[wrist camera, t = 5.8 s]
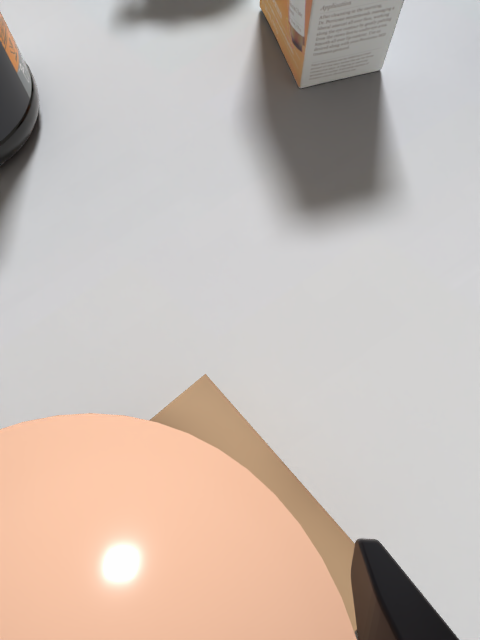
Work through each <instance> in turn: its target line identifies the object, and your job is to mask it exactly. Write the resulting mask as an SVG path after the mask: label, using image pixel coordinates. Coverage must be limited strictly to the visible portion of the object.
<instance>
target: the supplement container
mask: <svg viewBox="0 0 480 640" xmlns="http://www.w3.org/2000/svg"><path fill="white" fill-rule="evenodd" d="M38 110H39V95H38V89H37V85H36V82H35V79H34V77H33V75H32V73H31V71H30V69H29V67H28V65H27V64H26V62H25V61H24V60H23V57H22V55H21V53H20V51H19V49H18V47H17V45H16V43H15V41H14V39H13V37H12V35H11V33H10V31H9V28H8V26H7V24H6V22H5V20H4V18H3V16H2V14H1V12H0V165H2V164H3V163H5V162H6V161H7V160H8V159H10V158H11V157H12V156H13V155H14V154H15V153H16V152H17V151H18V150H19V149H20V148H21V147H22V146H23V144H24V143H25V142H26V140H27V139H28V137H29V136H30V134H31V132H32V130H33V128H34V125H35V123H36V120H37V116H38Z"/></svg>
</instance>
